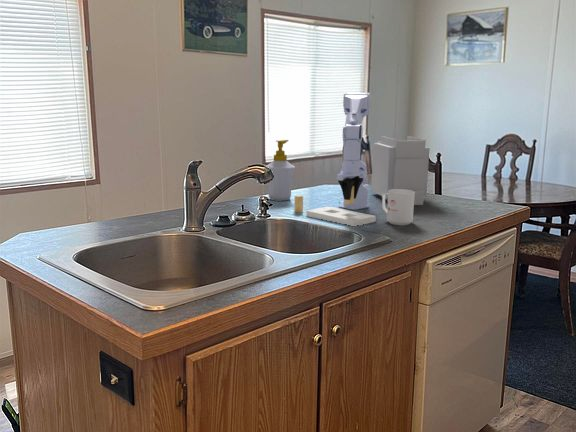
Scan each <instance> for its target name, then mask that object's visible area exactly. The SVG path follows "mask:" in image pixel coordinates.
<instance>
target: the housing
mask: <svg viewBox="0 0 576 432" xmlns="http://www.w3.org/2000/svg"><path fill="white" fill-rule="evenodd" d="M305 215H306V217H309V218H314V219H317V220H321V219H323V220H322V221H326V220H327V221H326V222H330V221H332V222H331V223H335V222H337V223H336V224H339V223H342V224H341V225H343V224H347V225H346V226H348V225H351V226H350V227H352V226H355V227H358V226H357V225H359V226H364V225H367V224H372V223H375V222H376V220H377V216H376V215H372V214H367V213H363V212H358V211H354V210H350V209H345V208H340V207H338V208H337V207H332V206H324V207H323V206H322V207H319V208H313V209H309V210H308V209H307V210H306V214H305ZM363 224H364V225H363Z"/></svg>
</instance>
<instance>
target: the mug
mask: <svg viewBox="0 0 576 432" xmlns="http://www.w3.org/2000/svg"><path fill="white" fill-rule="evenodd" d="M386 194H388V201H387V206H386V199H385V195H386ZM414 196H415V192H414V191H411V190H405V189H392V190H389V191H388V193H382V197H381V202H382V203H381V207H382V210H383V211H384V212H385V214H386V220H387V222H388V223H389V224H391V225H394V226H395V225H396V226H409V225H410V224H411V223H412V222H413V220H414V211H415V210H414V207H415V205H414Z"/></svg>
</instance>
